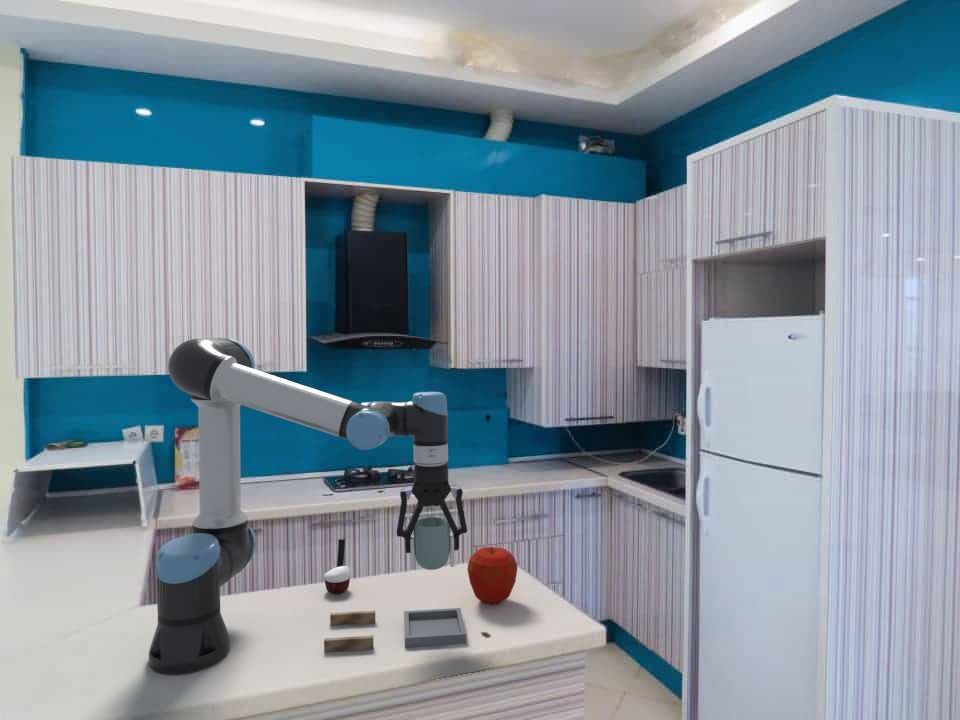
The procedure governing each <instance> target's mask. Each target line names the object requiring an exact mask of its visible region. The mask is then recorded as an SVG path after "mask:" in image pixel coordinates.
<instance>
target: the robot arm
mask: <svg viewBox="0 0 960 720" xmlns="http://www.w3.org/2000/svg"><path fill="white" fill-rule="evenodd" d="M167 365H168V367H167V368H168V369H167V370H168V375H169V377H170V379H171V381H172V383H173V384H174V385H175V386H176V387H177V388H178V389H179V390H180V391H183V392H184V393H187V394H189V395H190V401H191V402H192V403H194V404H195V405H196V406H197V408H198V409H197V410H198V473H199V474H198V482H199V483H198V485H199V487H198V488H199V489H198V490H199V491H198V492H199V513H198V515H197V516H196V517H195V518H194V519H193V520H192V526H191V530H192V531H191V532H192V533H190V534H185V535H182V536H181V537H176V538H173V539H171V540H169V541H168V542H166V543H165V544H163V545H162V546H161V548H160V549H159V551H158V553H156V554H157V555H156V563H155V564H156V565H155V574H156V600H157V603H156V604H157V605H156V606H157V626H156V628H155V631H154V634H153V638H152V639H151V640H152V641H151V645H150V647H149V650H148V666H149V668H150V669H151V670H152V671H153V672H156V673H159V674H162V675H184V674H188V673H189V674H191V673H194V672H198V671H201V670H202V671H203V670H205V669H207V668H210V667H212V666H214V665H215V664H218V663H219V662H220V661H222V660H224V658H226V657H227V656H228V654H229V653H230V650H231V637H230V633H229V630H228V629H227V627H226V626H227V625H226V623H225V621H224V618H223V616H222V612H221V587H222V586H224V585H225V584H226V583H227V582H229V581H230V580H231V579H232V578H233V577H234V576H235V575H237V574H239V573H240V572H241V571H243V569H245V568H246V567H247V565H248V563H250V561H251V560H252V559H253V556H254V554H255V551H256V547H257V540H256V534H255V533H254V530H253V529H252V528H251V527H250V525H249V517H248V515H247V514H246V513H245V512H244V511H242V509H241V508H242V497H241V496H242V495H241V494H242V493H241V492H242V491H241V489H242V486H241V478H242V477H241V406H243V407H246V408H250V409H252V410H254V411H259V412H262V413H265V414H268V415H271V416H274V417H277V418H281V419H283V420H286V421H289V422H292V423H296V424H298V425H302V426H305V427H308V428H311V429H314V430H318V431H320V432H323V433H325V434H326V433H327V434H328V435H329V434H330V435H332V436H335V437H338V438H342V439H344V440H347V441H348V442H350V444H351V445H352V446H353V447H355V448H356V449H359V450H362V451H370V450H372V449H376V448H377V447H380V446H381V445H383V444H384V443H385V442H386V440H388V439H389V438H391V437H412V439H413V440H412V441H413V444H412V445H413V446H412V447H413V462H414V463H415V464H414V465H413V485H412V487H411V488H407V489H405V488H402V489H400V492H399V494H400V501H401V503H400V508H399V512H398V513H399V514H398V520H397V527H396V536H397V537H398V538H399V537H401V538H404V541H405V542H404V548H405V549H404V551H405V553H406V554H410V570H415V552H414V535H412V534H413V533H414V528H415V524H416V523H417V521H418V519H420V518H419V517H420V516H421V513H422V511H423V510H424V507H426V508H427V507H431V506H433V507H440V508H441V511H442V512H443V515H444V518H446V519H447V521H448V523H449V526H450V531H451V533H450V553H449V564H450V567H451V568H454V567H455V551H459V549H460V535H462V534H466V533H467V532H468V527H467V522H466V517H465V511H464V506H463V501H462V500H463V498H462V497H463V493H464V492H463V489H462V487H461V486H457V487H456V486H451V485H450V482H449V464H448V463H447V462H448V460H449V446H448V443H449V442H448V441H449V440H448V438H449V437H448V435H449V434H448V432H449V431H448V430H449V429H448V427H449V426H448V422H449V420H448V419H449V417H448V416H449V415H448V414H449V412H448V401H447V396H446V394H445V393H443V392H439V391H427V392H426V391H420V392H415V393H413V395H412V399H411V401H398V402H397V401H376V400H375V401H374V400H373V401H368V402H367V401H366V402H361V403H358V402H355V401H352V400H350V399H347V398H344V397H341V396H338V395H334V394H331V393H328V392H324V391H321V390H318V389H315V388H313V387H310V386H306V385H303V384H300V383H297V382H294V381H291V380H288V379H285V378H282V377H278V376H277V375H272V374H269V373H267V372H264V371H261V370H258V369H255V367H256V366H255V360H254V356H253V354H252V353H251V351H250V349H249V348H248V347H247V346H246V345H245V344H244V343H242V342H240V341H238V340H236V339H230V338H228V337H227V338H226V337H216V338H215V337H214V338H213V337H211V338H191V339H189V340H186V341H184V342H182V343H181V344H179V345H178V346H176V347H175V349H174V350H173V351H172V353H171V354H170V357H169V359H168V364H167ZM450 493H452V497H453V498H454V499H455V504H456V510H457V516H458V519H459V520H458V521H459V524H460V526H458V527H457V525H456V522H455V520H454V518H453V516H452V514H451V512H450V510H449V507H448V505H447V503H446V501H445V500H446V499H447V497H448V496H449V494H450ZM411 495H413V496H414V498H416V500H417V503H416V504H415V507H414V511H413V512H412V515H411V517H410V519H409V522H408V525H407V527H406V529H404V526H405V518H406V513H407V506H408V500H410V499H411Z"/></svg>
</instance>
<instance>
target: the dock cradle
mask: <svg viewBox="0 0 960 720" xmlns="http://www.w3.org/2000/svg"><path fill="white" fill-rule="evenodd" d="M462 613H463V612H462V609H461V607H455V608H453V607H452V608H451V607H449V608H435V609H419V610H418V609H417V610H416V609H415V610H403V623H404V624H403V626H404V627H403V628H404V630H403V631H404V648H414V647H415V648H418V647H430V646H431V647H432V646H433V647H434V646H435V647H436V646H446V645H462V644H463V645H464V644H467V630H466V627H465V622H464V616H463V614H462Z"/></svg>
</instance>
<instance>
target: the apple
mask: <svg viewBox="0 0 960 720" xmlns="http://www.w3.org/2000/svg"><path fill="white" fill-rule="evenodd" d="M467 563H468V564H467V574H468V579H469V584H470V587H471V589H472V591H473V593H474V596H475V598H476V599H477V600H479V601H480V602H481V603H482V604H484V605H488V606H497V605H500V604H501V603H503V602H505V601H506V600H508V598H509V597H510V595H511V593H512V591H513V588H514V586H515V583H516V580H517V573H518V563H517V562H516V559H515V556H514V555H513V554H512V553H511V552H510V551H509V550H507V549H506V548H503V547H494V546H493V545H491V546H487V547H486V546H485V547H480V548H478V549H477V550H475V552H473V553H472V554H471V555H470V556H469V561H468V562H467Z"/></svg>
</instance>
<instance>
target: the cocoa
mask: <svg viewBox="0 0 960 720" xmlns="http://www.w3.org/2000/svg"><path fill="white" fill-rule="evenodd" d="M337 542H338V543H337V561H336V567H333V568H331V569H330V570H329V571H327V572H325V573H324V575H323V578H324V585H325V589H326V591H327V592H328V593H329V594H331V595H335V596H338V595H342V594H344V593H345V592H347V590H349V586H350V581H351V578H350V576H351V568H350V567H349V566H347V565H345V545H346V539H345V538H338V541H337Z"/></svg>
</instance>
